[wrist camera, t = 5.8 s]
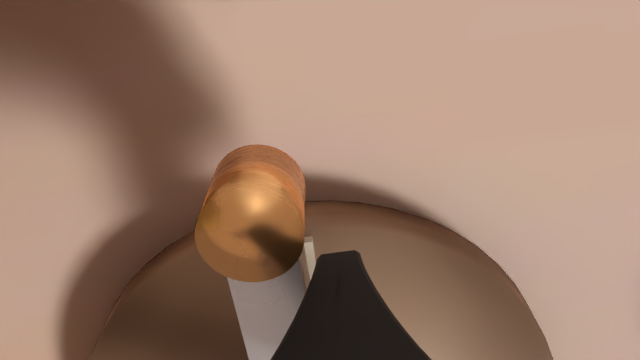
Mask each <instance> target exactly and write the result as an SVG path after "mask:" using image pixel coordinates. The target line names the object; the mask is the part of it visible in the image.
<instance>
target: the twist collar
mask: <svg viewBox="0 0 640 360" xmlns="http://www.w3.org/2000/svg"><path fill="white" fill-rule="evenodd" d="M304 231H305V179H304V176H303V173H302V171H301V169H300V167H299V166H298V164H297V163H296V162H295V161H294V160H293V159H292V158H291V157H290V156H289V155H288V154H286V153H285V152H283V151H281V150H279V149H277V148H274V147H270V146H266V145H248V146H244V147H241V148H238V149H236V150H234V151H232V152H230V153H229V154H228V155H226V156H225V157H224V158H223V159H222V160H221V161H220V163H219V164H218V166H217V168H216V170H215V173H214V175H213V178H212V181H211V184H210V186H209V189H208V192H207V195H206V198H205V200H204V203H203V206H202V209H201V211H200V214H199V217H198V220H197V223H196V227H195V241H196V246H197V248H198V251H199V253H200V255H201V256H202V258H203V259H204V261H205V262H206V263H207V264H208V265H209V266H210V267H211V268H213V269H214V270H215V271H217V272H218V273H220V274H221V275H223V276H225V277H227V279H228V283H229V287H230V291H231V294H232V298H233V302H234V306H235V309H236V313H237V317H238V321H239V324H240V328H241V332H242V336H243V339H244V343H245V347H246V351H247V354H248V358H249V360H270V359H271V358H272V356H273V355H274V353H275V351H276V350H277V348H278V347H279V345H280V343H281V341H282V339H283V338H284V336H285V334H286V332H287V330H288V328H289V327H290V325H291V323H292V321H293V319H294V317H295V315H296V313H297V311H298V309H299V306H300V304H301V302H302V300H303V298H304V295H305V293H306V291H307V288H308V286H309V283H310V276H309V270H308V264H307V259H306V253H305V248H304Z"/></svg>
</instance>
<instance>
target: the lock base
mask: <svg viewBox="0 0 640 360" xmlns="http://www.w3.org/2000/svg"><path fill="white" fill-rule="evenodd" d="M304 248H305V253H306V259H307V264H308V270H309V276H310V280H311V278H312V275H313V272H314V269H315V265H316V261H317V258H318V257H319V256H320V255H321V254H328V253H335V252H343V251H351V250H356V251H357V252H359V253H360V254H361V259H362V261H363V264H364V266H365V269H366V271H367V273H368V275H369V277H370V279H371V280H372V282H373V284H374V286H375V287H376V289H377V291H378V292H379V294H380V295H381V297H382V298H383V300H384V301H385V303H386V304H387V306H388V308H389V309H390V310H391V312H392V313H393V314H394V316H395V317H396V319H397V320H398V321H399V322H400V324H401V325H402V326H403V328H404V329H405V330H406V331H407V333H408V334H409V335H410V336H411V337H412V339H413V340H414V341H415V342H416V343H417V344H418V345H419V347H420V348H421V349H422V350H423V351H424V352H425V353H426V354H427V355H428V356H429V357H430V358H431V359H432V360H553V357H552V355H551V352H550V349H549V347H548V344H547V341H546V339H545V336H544V334H543V332H542V331H541V329H540V327H539V325H538V323H537V321H536V319H535V318H534V316H533V314H532V312H531V310H530V308H529V306H528V305H527V303H526V301H525V300H524V298H523V296H522V295H521V293H520V291H519V290H518V288H517V286H516V285H515V283H514V282H513V281H512V280H511V279H510V278H509V276H508V275H507V274H506V273H505V272H504V270H503V269H502V268H501V267H500V266H499V265H498V264H497V263H496V262H495V261H494V260H492V259H491V258H490V257H489V256H488V255H486V254H485V253H484V252H483V251H482V250H481V249H479V248H478V247H477V246H475V245H474V244H472V243H470V242H469V241H467V240H466V239H464V238H463V237H461V236H459V235H458V234H456V233H455V232H453V231H451V230H449V229H446V228H444V227H442V226H440V225H438V224H435V223H433V222H431V221H429V220H427V219H424V218H421V217H418V216H414V215H411V214H408V213H405V212H402V211H398V210H395V209H391V208H385V207H380V206H374V205H369V204H363V203H354V202H338V201H310V202H305V231H304ZM90 360H249V358H248V354H247V351H246V347H245V343H244V339H243V336H242V332H241V328H240V324H239V321H238V317H237V313H236V309H235V306H234V302H233V298H232V294H231V291H230V287H229V283H228V279H227V277H225V276H223V275H221V274H220V273H218V272H217V271H215V270H214V269H213V268H211V267H210V266H209V265H208V264H207V263H206V262H205V261H204V259H203V258H202V256H201V255H200V253H199V251H198V248H197V246H196V241H195V231H193V232H191V233H190V234H188V235H186V236H184V237H183V238H181V239H179V240H178V241H176V242H174V243H173V244H171V245H169V246H168V247H167V248H166V249H164V250H163V251H162V252H161V253H159V254H158V255H157V256H156V257H154V258H153V259H152V260H151V261H149V262H148V263H147V264H146V265H145V266H144V267H143V268H142V269H141V270H140V272H139V273H138V274H137V275H136V276H135V277H134V278H133V279H132V280H131V281H130V282H129V284H128V285H127V287H126V288H125V290H124V291H123V293H122V294H121V296H120V297H119V299H118V300H117V302H116V303H115V305H114V307H113V309H112V312H111V314H110V316H109V318H108V320H107V322H106V324H105V326H104V328H103V330H102V332H101V334H100V336H99V338H98V341H97V343H96V345H95V348H94V350H93V352H92V355H91V357H90Z"/></svg>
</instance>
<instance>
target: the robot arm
mask: <svg viewBox="0 0 640 360" xmlns="http://www.w3.org/2000/svg"><path fill="white" fill-rule="evenodd" d="M270 360H432V359H431V358H430V357H429V356H428V355H427V354H426V353H425V352H424V351H423V350H422V349H421V348H420V347H419V345H418V344H417V343H416V342H415V341H414V340H413V339H412V337H411V336H410V335H409V334H408V333H407V331H406V330H405V329H404V328H403V326H402V325H401V324H400V322H399V321H398V320H397V319H396V317H395V316H394V314H393V313H392V312H391V310H390V309H389V308H388V306H387V304H386V303H385V301H384V300H383V298H382V297H381V295H380V294H379V292H378V291H377V289H376V287H375V286H374V284H373V282H372V280H371V279H370V277H369V275H368V273H367V271H366V269H365V266H364V264H363V261H362V259H361V254H360V253H359V252H357V251H356V250H351V251H343V252H335V253H328V254H321V255H320V256H319V257H318V258H317V261H316V265H315V269H314V272H313V275H312V278H311V280H310V283H309V286H308V288H307V291H306V293H305V295H304V298H303V300H302V302H301V304H300V306H299V309H298V311H297V313H296V315H295V317H294V319H293V321H292V323H291V325H290V327H289V328H288V330H287V332H286V334H285V336H284V338H283V339H282V341H281V343H280V345H279V347H278V348H277V350H276V351H275V353H274V355H273V356H272V358H271V359H270Z"/></svg>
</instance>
